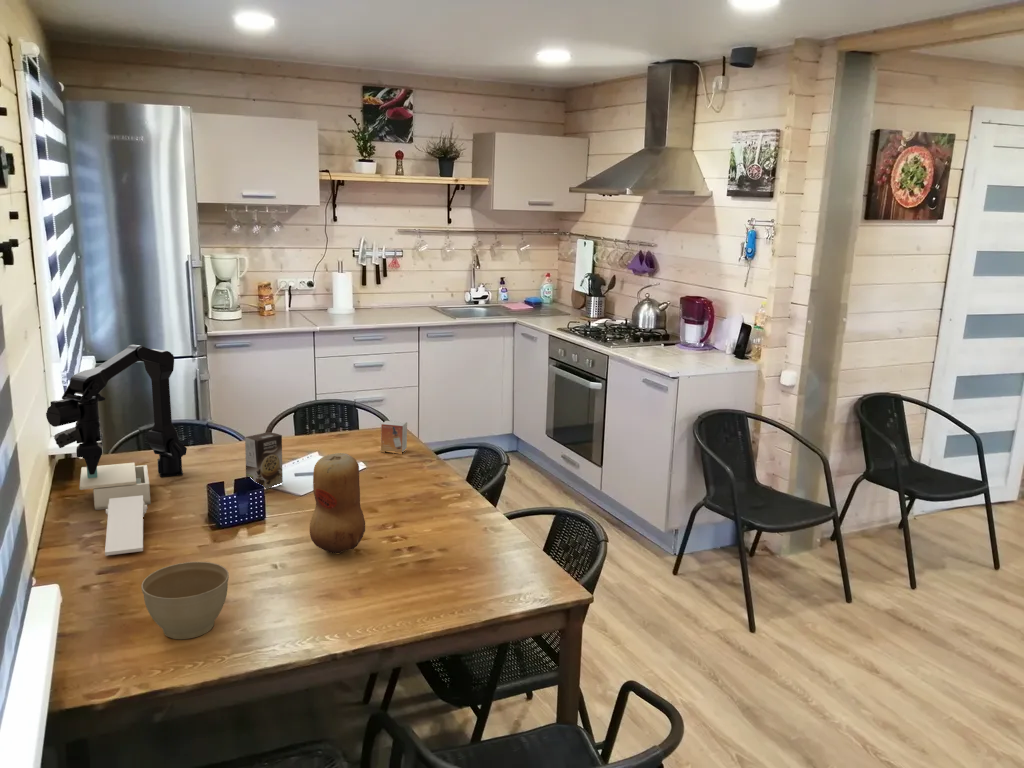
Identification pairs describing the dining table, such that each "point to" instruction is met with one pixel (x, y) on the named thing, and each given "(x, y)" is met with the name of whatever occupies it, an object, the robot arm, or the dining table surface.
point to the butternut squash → (337, 504)
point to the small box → (393, 436)
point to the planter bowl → (186, 597)
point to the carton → (124, 490)
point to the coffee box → (264, 458)
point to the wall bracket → (125, 525)
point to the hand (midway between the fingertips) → (92, 471)
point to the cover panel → (108, 476)
